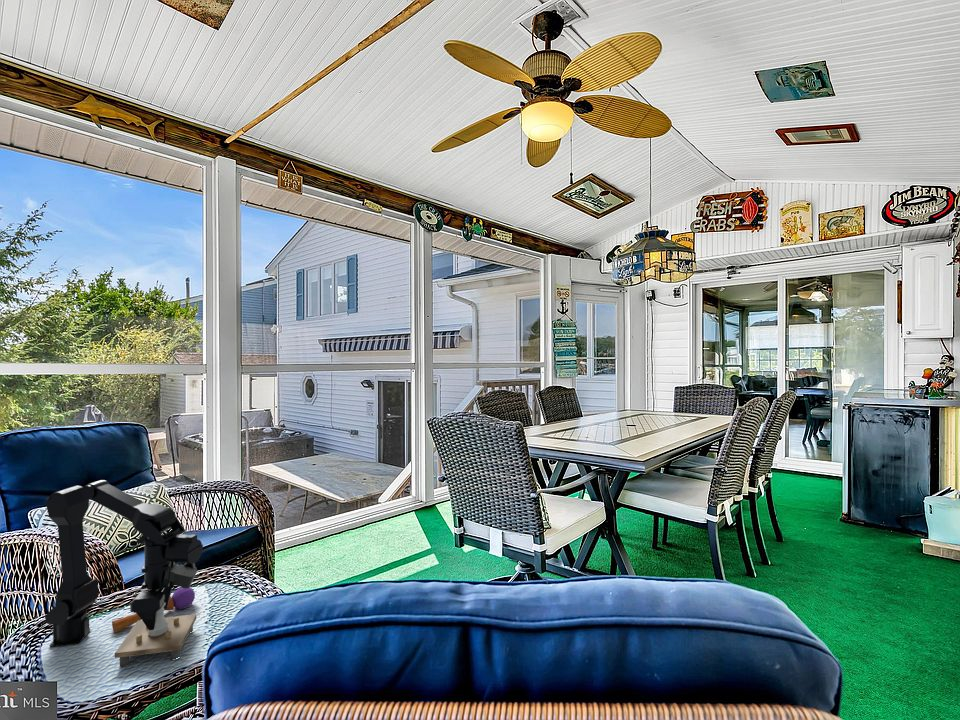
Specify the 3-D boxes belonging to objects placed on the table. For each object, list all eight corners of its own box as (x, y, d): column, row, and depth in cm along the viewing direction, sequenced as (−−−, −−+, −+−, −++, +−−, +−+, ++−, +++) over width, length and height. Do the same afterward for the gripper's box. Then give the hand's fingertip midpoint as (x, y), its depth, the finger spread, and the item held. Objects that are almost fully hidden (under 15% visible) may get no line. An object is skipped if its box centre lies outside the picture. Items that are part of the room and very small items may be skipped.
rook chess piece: (153, 627, 130) (153, 597, 130) (171, 627, 131) (171, 597, 130) (143, 637, 126) (143, 606, 125) (162, 637, 126) (162, 606, 126)
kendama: (109, 614, 136) (188, 581, 152) (112, 635, 136) (191, 601, 152) (115, 618, 132) (196, 584, 148) (119, 640, 132) (199, 604, 148)
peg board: (114, 669, 120) (114, 647, 120) (137, 635, 133) (137, 615, 133) (180, 660, 124) (180, 639, 123) (196, 628, 137) (196, 608, 137)
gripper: (182, 573, 120) (182, 636, 121) (203, 542, 138) (203, 597, 139) (129, 578, 117) (129, 643, 118) (157, 545, 135) (157, 601, 136)
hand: (158, 619), depth 128 cm, fingers open, 9 cm apart
